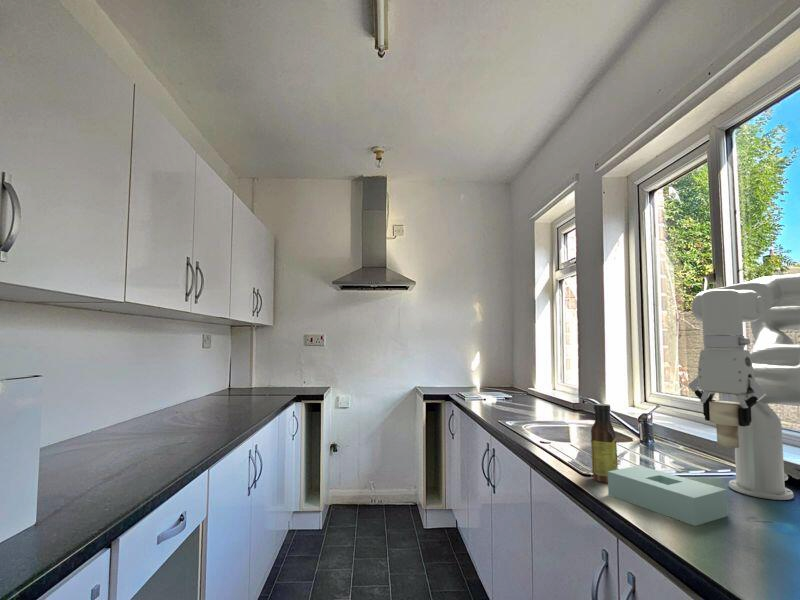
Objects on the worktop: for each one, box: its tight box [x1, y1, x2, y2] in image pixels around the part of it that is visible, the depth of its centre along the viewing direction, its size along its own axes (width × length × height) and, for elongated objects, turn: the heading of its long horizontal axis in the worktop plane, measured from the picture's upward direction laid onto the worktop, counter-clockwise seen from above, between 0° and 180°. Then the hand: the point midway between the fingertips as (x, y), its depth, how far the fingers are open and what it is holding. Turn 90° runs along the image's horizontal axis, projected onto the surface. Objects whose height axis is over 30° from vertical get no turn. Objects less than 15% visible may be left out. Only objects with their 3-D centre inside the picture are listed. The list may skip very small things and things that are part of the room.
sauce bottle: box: [590, 403, 619, 484], centre depth 121 cm, size 6×6×20 cm
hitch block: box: [607, 465, 729, 527], centre depth 103 cm, size 12×20×6 cm, turn 28°
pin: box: [709, 400, 741, 449], centre depth 102 cm, size 6×6×10 cm
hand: (726, 422), depth 102 cm, fingers closed on pin, 6 cm apart
